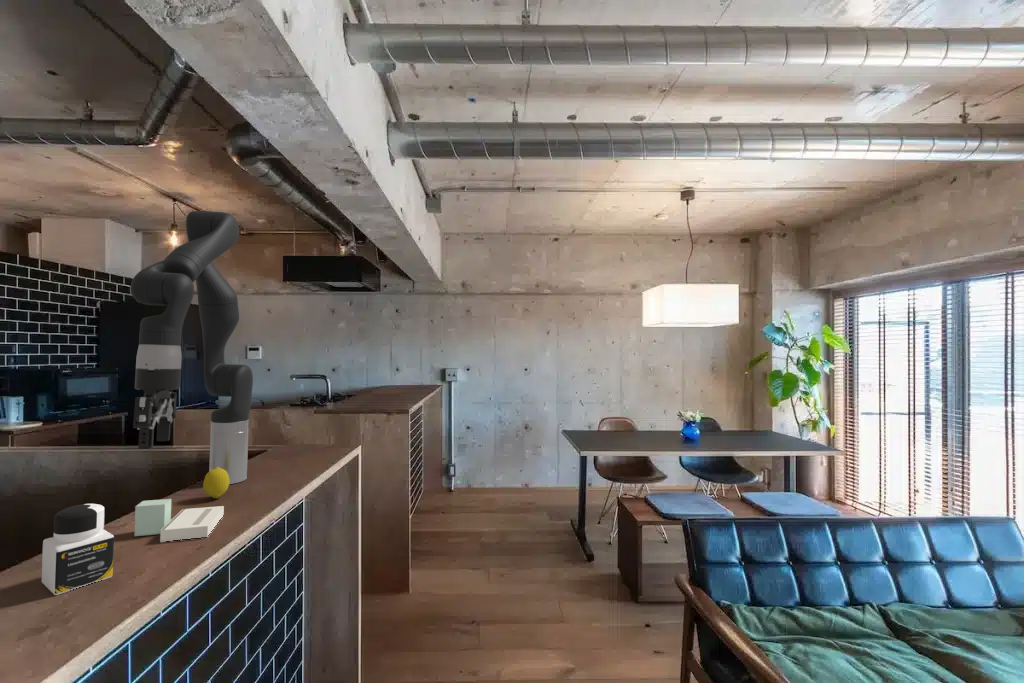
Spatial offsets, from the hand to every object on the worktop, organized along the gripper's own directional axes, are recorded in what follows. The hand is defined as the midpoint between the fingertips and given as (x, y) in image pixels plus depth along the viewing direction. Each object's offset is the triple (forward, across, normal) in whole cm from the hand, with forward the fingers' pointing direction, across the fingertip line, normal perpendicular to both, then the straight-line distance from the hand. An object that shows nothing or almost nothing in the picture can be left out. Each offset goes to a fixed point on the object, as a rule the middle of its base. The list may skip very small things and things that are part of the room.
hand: (154, 444), depth 95 cm
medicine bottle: (+19, +19, -3) cm, 27 cm away
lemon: (+18, -20, +7) cm, 28 cm away
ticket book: (+18, 0, +8) cm, 20 cm away
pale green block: (+18, 0, 0) cm, 18 cm away
